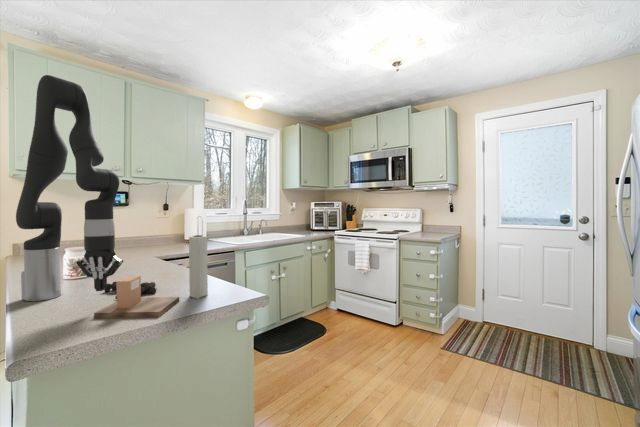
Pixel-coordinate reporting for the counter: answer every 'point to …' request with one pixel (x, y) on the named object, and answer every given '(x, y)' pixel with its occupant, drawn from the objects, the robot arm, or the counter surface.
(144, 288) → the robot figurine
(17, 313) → the counter surface
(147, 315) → the board
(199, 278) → the paper towel roll
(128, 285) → the labeled cardboard box
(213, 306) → the counter surface
